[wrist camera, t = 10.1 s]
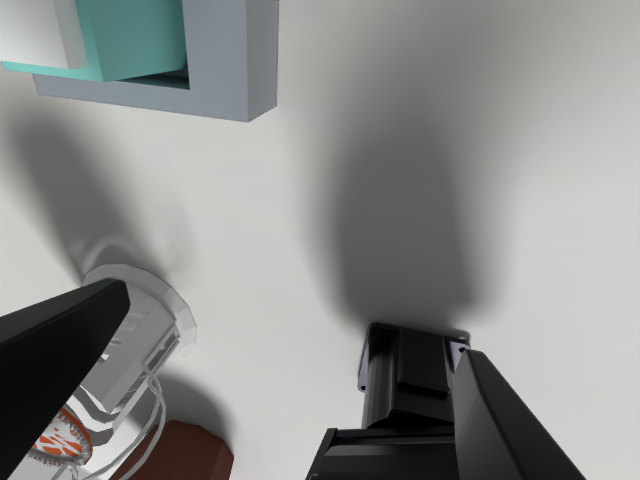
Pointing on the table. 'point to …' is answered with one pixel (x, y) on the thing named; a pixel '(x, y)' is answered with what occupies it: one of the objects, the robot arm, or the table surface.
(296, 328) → the table surface
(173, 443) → the muffin
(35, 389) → the robot arm
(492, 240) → the table surface
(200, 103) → the port block
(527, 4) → the table surface
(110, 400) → the french press
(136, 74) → the teal rectangular block
